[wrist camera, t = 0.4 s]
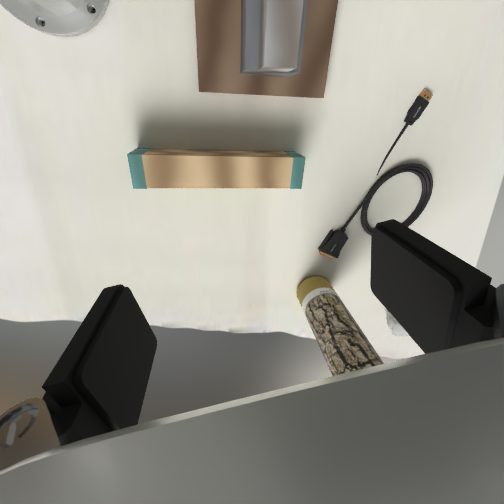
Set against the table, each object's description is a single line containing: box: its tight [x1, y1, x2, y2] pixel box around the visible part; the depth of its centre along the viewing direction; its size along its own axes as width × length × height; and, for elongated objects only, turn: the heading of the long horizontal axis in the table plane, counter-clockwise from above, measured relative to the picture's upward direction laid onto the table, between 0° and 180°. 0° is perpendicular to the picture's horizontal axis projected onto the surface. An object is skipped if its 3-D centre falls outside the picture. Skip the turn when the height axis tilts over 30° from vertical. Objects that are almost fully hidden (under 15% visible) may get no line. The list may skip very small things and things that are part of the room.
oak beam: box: [127, 148, 305, 189], centre depth 36 cm, size 22×4×5 cm, turn 87°
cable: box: [318, 89, 433, 259], centre depth 44 cm, size 14×28×2 cm, turn 153°
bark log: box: [297, 276, 384, 376], centre depth 41 cm, size 7×7×25 cm
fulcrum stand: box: [195, 0, 338, 98], centre depth 27 cm, size 16×16×10 cm
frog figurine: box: [386, 311, 409, 336], centre depth 55 cm, size 6×7×7 cm
